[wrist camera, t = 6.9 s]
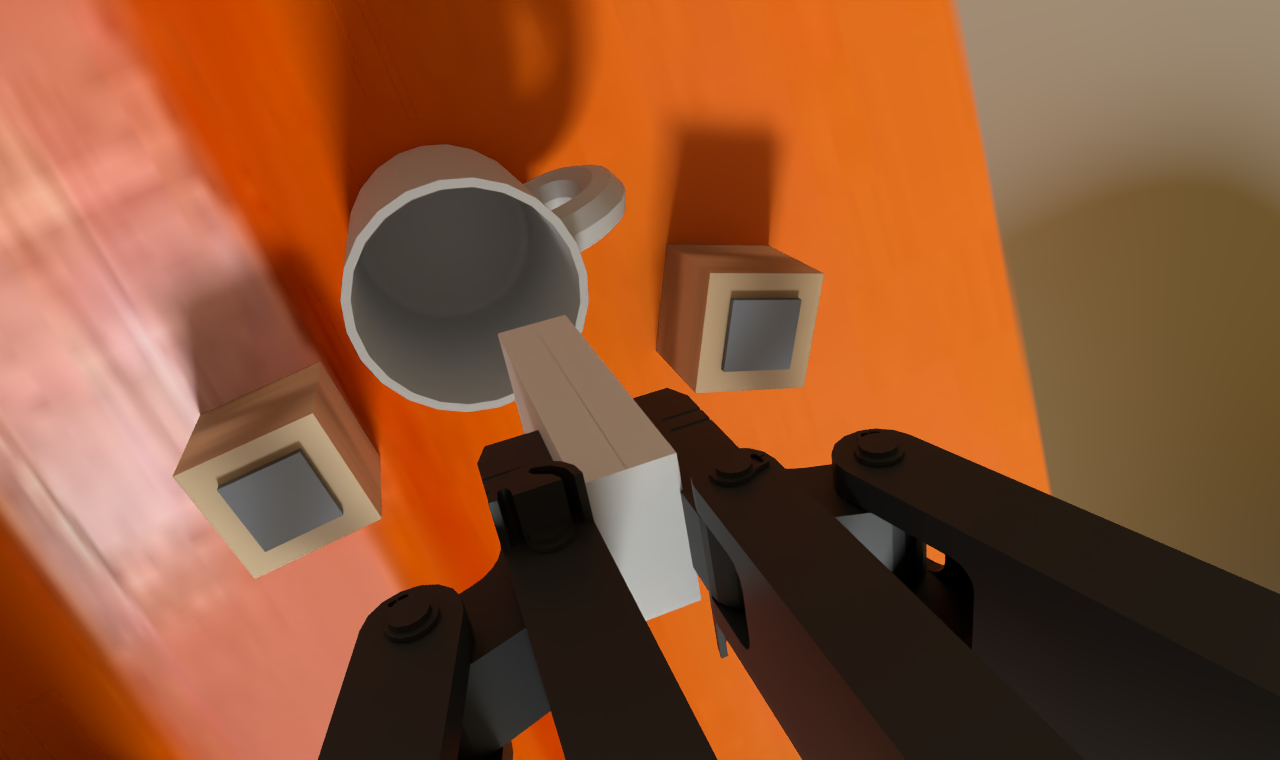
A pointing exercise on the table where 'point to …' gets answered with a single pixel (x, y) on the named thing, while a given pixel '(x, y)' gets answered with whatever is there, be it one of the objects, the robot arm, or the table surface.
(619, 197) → the cup
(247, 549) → the oak block
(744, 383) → the oak block
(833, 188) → the table surface
